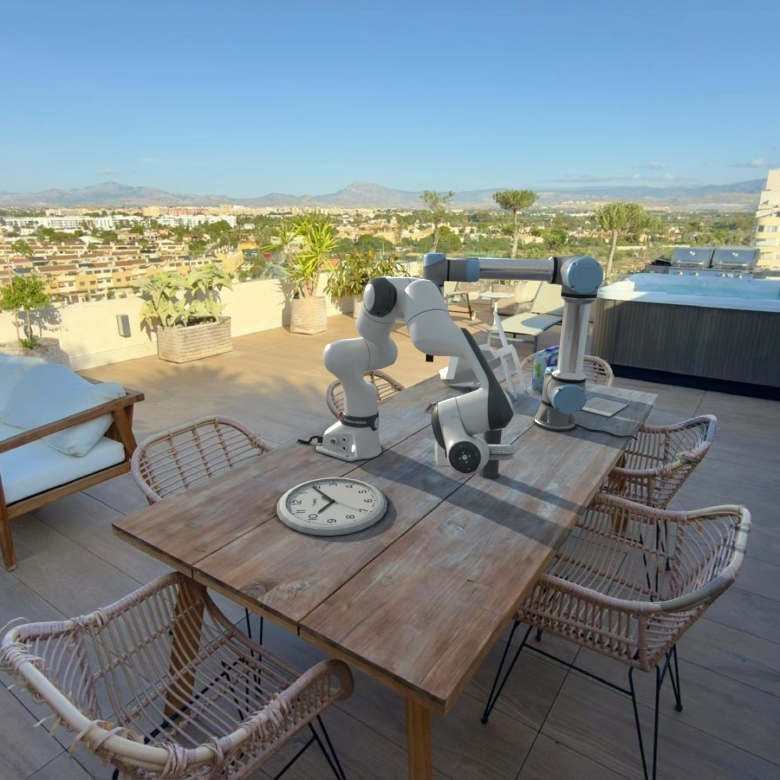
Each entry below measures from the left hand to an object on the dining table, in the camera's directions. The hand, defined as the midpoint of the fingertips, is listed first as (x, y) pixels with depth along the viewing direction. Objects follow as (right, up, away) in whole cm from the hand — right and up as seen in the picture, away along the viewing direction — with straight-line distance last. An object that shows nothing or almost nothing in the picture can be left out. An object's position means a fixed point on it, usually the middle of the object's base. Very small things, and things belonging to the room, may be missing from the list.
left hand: (476, 449), depth 141 cm
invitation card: (+68, +9, +86) cm, 110 cm away
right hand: (-9, +28, +49) cm, 57 cm away
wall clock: (-39, -15, +2) cm, 42 cm away
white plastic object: (+18, +15, +103) cm, 105 cm away
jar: (+8, -10, +22) cm, 25 cm away
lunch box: (+54, +16, +107) cm, 121 cm away
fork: (-6, +9, +82) cm, 83 cm away
